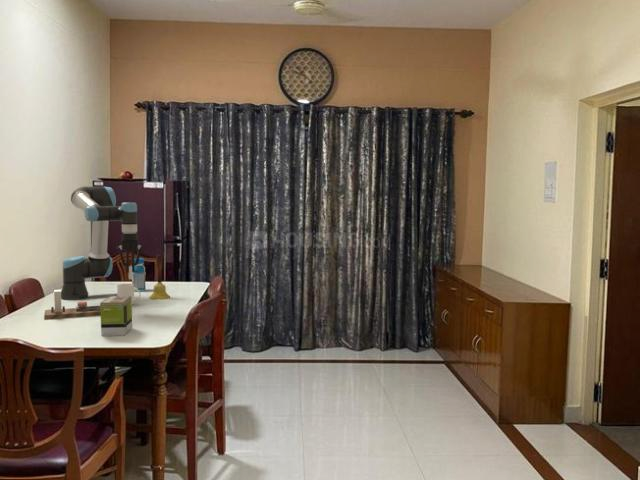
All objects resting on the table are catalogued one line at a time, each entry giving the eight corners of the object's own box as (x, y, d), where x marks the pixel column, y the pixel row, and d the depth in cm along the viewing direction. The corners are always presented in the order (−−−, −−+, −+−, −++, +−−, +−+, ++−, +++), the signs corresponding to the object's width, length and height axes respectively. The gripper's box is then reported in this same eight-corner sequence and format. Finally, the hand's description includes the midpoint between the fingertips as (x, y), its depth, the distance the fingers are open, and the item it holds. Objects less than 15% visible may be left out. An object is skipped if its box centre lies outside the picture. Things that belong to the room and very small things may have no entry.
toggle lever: (54, 310, 291) (54, 291, 286) (54, 309, 292) (54, 290, 287) (61, 310, 292) (60, 291, 288) (61, 308, 293) (60, 289, 289)
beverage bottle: (138, 292, 365) (137, 259, 364) (128, 290, 369) (128, 258, 368) (148, 290, 372) (148, 258, 371) (139, 289, 377) (139, 257, 375)
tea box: (109, 328, 266) (109, 295, 265) (133, 328, 267) (132, 295, 266) (100, 336, 251) (99, 301, 250) (124, 336, 252) (124, 301, 251)
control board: (44, 319, 284) (44, 310, 283) (45, 313, 297) (45, 305, 296) (123, 314, 298) (123, 305, 297) (121, 309, 311) (121, 300, 310)
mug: (138, 305, 321) (138, 286, 320) (115, 305, 320) (115, 286, 319) (142, 302, 329) (141, 283, 328) (119, 303, 328) (119, 283, 327)
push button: (77, 306, 294) (77, 303, 293) (77, 305, 298) (77, 301, 298) (87, 306, 295) (87, 302, 295) (86, 304, 299) (86, 301, 299)
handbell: (173, 296, 352) (173, 254, 350) (166, 299, 339) (165, 256, 338) (153, 295, 353) (153, 253, 351) (145, 299, 341) (144, 255, 339)
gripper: (116, 233, 297) (117, 280, 298) (143, 232, 302) (144, 279, 303) (115, 232, 304) (116, 278, 305) (142, 232, 309) (142, 277, 310)
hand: (130, 279), depth 304 cm, fingers closed
